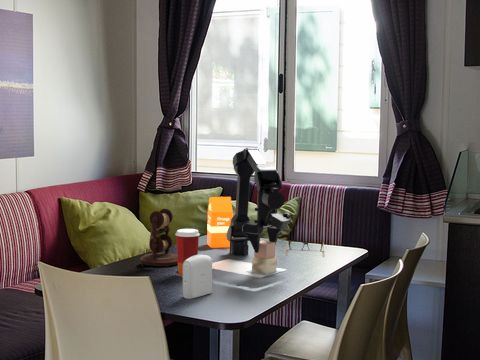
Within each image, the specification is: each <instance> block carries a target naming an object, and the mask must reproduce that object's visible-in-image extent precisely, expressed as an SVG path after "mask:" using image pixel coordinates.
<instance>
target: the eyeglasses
mask: <svg viewBox="0 0 480 360" xmlns="http://www.w3.org/2000/svg"><path fill="white" fill-rule="evenodd" d="M292 242H293V240H287V244H286V249H288V247H289V250H291V249H292V248H291V243H292ZM297 242H300V243H302V244H303V246H302V247H301V250H303V248H304V247H305V245H307V249H308V250H309V251H310V250H311V249H310V248H309V243H320V244H321V246H320V249H319V250H321V251H322V258H324V257H325V256H324V252H325V251H324V249H325V244H324V242H323V241H314V240H313V241H302V240H297ZM301 250H300V251H301ZM286 257H288V252H286Z"/></svg>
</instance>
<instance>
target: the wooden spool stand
mask: <svg viewBox="0 0 480 360" xmlns="http://www.w3.org/2000/svg"><path fill="white" fill-rule="evenodd" d="M172 221H173V213H172V211H171V210H170V209H168V208H162V209H160V210H154V211H152V212H151V213H150V215H149V222H150V224H151V225H150V234H149V235H150V236H149V241H148V242H149V243H148V246H149V250H150V251H151V253H147V254H144V255H142V256H141V257H140V258H139V263H140V265H141V267H142V268H143V267H144V266H145V265H146V266H155V267H156V266H157V267H165V268H169V266H176V265H178V259H177V254H175V253H171V252H169V251H170V249H171V247H172V246H173V240H172V238H171V236H170V235H169V233H170V230H171V227H170V224H171V222H172ZM163 233H164V234H163ZM159 234H161V235H159ZM158 235H159V237H158ZM163 251H164V252H163Z"/></svg>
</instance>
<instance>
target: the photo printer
mask: <svg viewBox="0 0 480 360" xmlns="http://www.w3.org/2000/svg"><path fill="white" fill-rule="evenodd" d="M212 263H213V259H212V257H210V255H206V254H198V255H195V256H192V257H190V258H188V259H187V260H185V261H184V263H183V276H182V296H183V299H188V300H192V299H195V298H198V297H202V296H206V295H209V294H212V292H213V269H212Z"/></svg>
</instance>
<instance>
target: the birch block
mask: <svg viewBox="0 0 480 360" xmlns="http://www.w3.org/2000/svg"><path fill="white" fill-rule="evenodd" d="M277 261H278V256H275V257H272V258H269V259H263V258H257V257H254V256H252V257H251V263H252V272H257V273H262V274H269V273H273V272H276V271H277V268H278V267H277V265H278V262H277Z"/></svg>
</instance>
